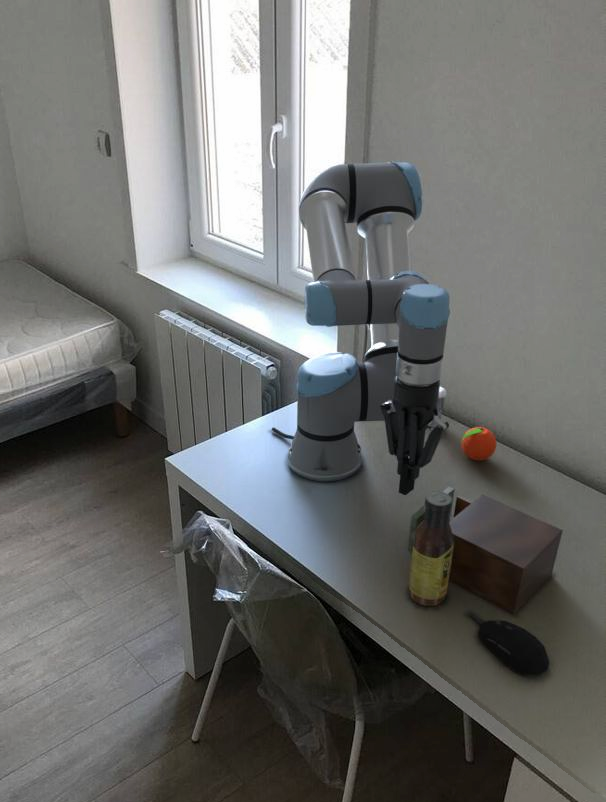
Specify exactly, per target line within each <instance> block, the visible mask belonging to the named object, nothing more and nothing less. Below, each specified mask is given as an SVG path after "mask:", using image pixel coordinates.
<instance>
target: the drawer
mask: <svg viewBox="0 0 606 802" xmlns="http://www.w3.org/2000/svg"><path fill="white" fill-rule="evenodd" d="M455 490H456V489H455V488H454V487H452V486H450V485H449V486H447V487H446V488H445V489H443V490H442V491H441V492H444V493H447V494H448V495H450V496H451V498H452V504H454V503H453V502H454V495H455ZM472 502H474V501H473V500H471V499H469V498H467V497H464V496H462V495H461V494H459V495H457V496H456V499H455V505H454V512H453V518H454V517H455V516H457V515H458V514H459V513H460V512H462V511H463V510H464V509H465V508H466V507H468V506H469V505H470V504H471V503H472ZM425 509H426V507H425V504H424V505H423V506H422V507H420V508H418V510H417V511H415V512H413V514H412V515H411V518H410V526H409V536H408V545H407V551H408V552H410V553H412V552H413V544H414V540H415V531H416V529H417V527H418V525H419V524H420V523H421V522H422V521H423V520H424V515H425ZM452 510H453V506H452V507H451V509H450V514H449V521H451V517H452Z"/></svg>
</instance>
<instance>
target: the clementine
mask: <svg viewBox="0 0 606 802" xmlns="http://www.w3.org/2000/svg"><path fill="white" fill-rule="evenodd" d="M459 444H461V449H462V452H463V453H464V455H466V457H468V458H469V459H471V460H473V461H485V460H487V459H489V458H490V457H491V456H492V455H493V454H494V453H495V451H496V449H497V439H496V436H495V435H494V433H493V432H492V430H490V429H488V428H486V427H483V426H475V427H472V428H470V429H468V430H467V431H466V432H465V433H464V434H463V436H462V438H461V439H460V442H459Z"/></svg>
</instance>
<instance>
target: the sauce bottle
mask: <svg viewBox="0 0 606 802" xmlns="http://www.w3.org/2000/svg"><path fill="white" fill-rule="evenodd" d="M424 505H425V507H426V509H425V515H424V520H423V521H422V522H421V523H420V524H419V525H418V527H417V529H416V531H415V540H414V544H413V552H411V562H410V571H409V580H408V588H409V589H408V593H409V597H410V598H411V599H412V601H414V603H417V604H419V605H420V606H425V607H436V606H438V605H440V604H442V602H443V601H444V600H445V599H446V595H447V593H448V589H449V581H450V580H449V575H450V569H451V561H452V554H453V547H454V537H453V534H452V531H451V527H450V524H449V514H450V509H451V507H452V508H453V503H452V498H451V496H450V495H448V494H447V493H444V492H442V491H441V490H435V491H430V492H428V493H427V494H426V496H425V499H424Z"/></svg>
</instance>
